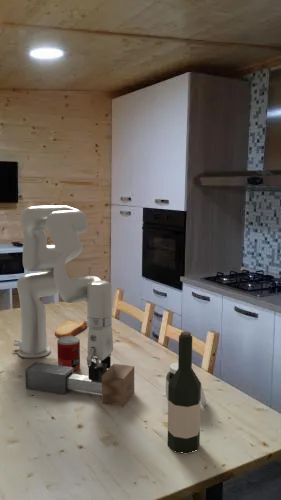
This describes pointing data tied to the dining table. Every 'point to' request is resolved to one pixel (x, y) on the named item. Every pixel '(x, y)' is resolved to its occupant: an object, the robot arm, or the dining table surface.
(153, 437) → the dining table surface
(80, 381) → the steel bar
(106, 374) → the socket block
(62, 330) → the slice of bread
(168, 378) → the white mug
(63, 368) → the sleeve
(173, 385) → the wine bottle
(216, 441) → the dining table surface
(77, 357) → the canned food
